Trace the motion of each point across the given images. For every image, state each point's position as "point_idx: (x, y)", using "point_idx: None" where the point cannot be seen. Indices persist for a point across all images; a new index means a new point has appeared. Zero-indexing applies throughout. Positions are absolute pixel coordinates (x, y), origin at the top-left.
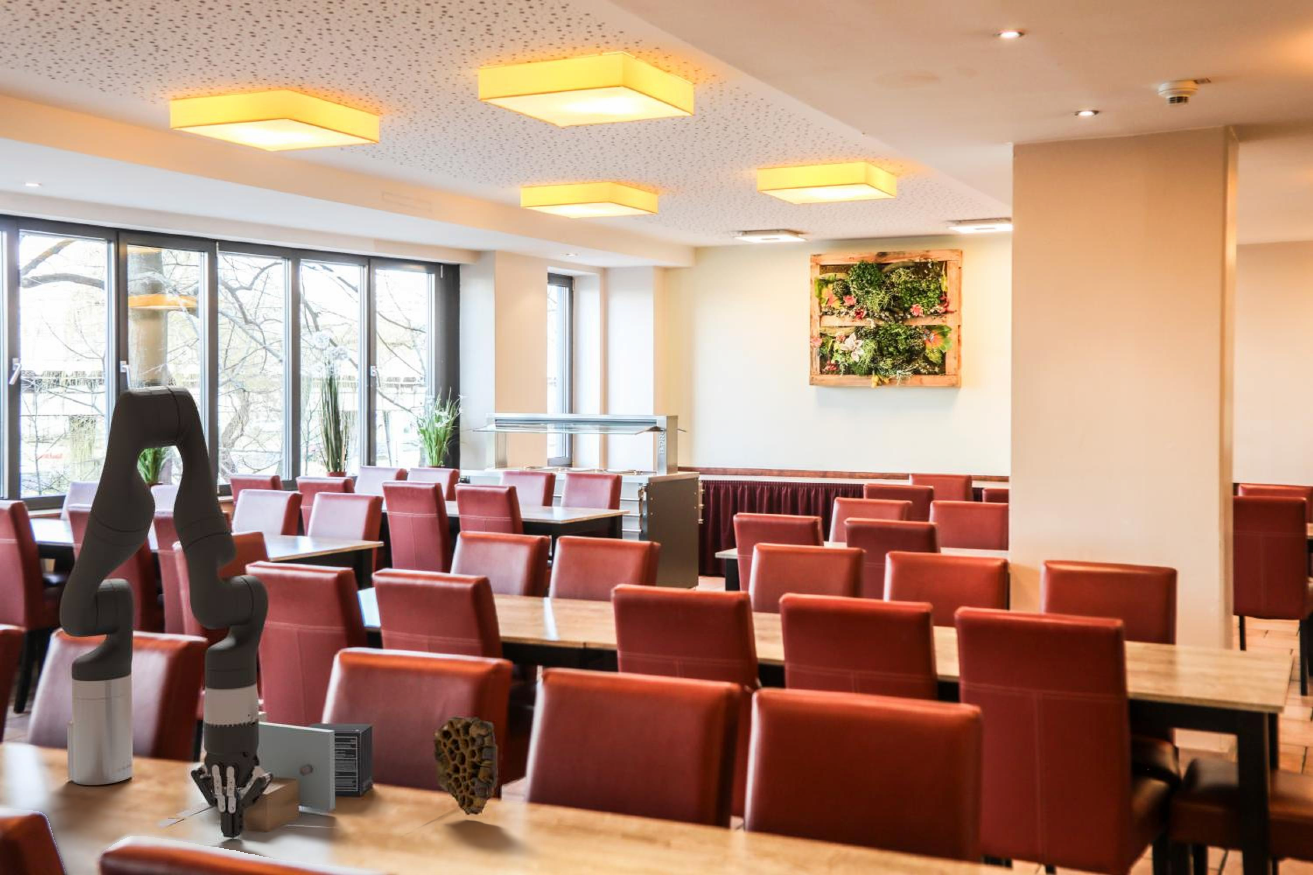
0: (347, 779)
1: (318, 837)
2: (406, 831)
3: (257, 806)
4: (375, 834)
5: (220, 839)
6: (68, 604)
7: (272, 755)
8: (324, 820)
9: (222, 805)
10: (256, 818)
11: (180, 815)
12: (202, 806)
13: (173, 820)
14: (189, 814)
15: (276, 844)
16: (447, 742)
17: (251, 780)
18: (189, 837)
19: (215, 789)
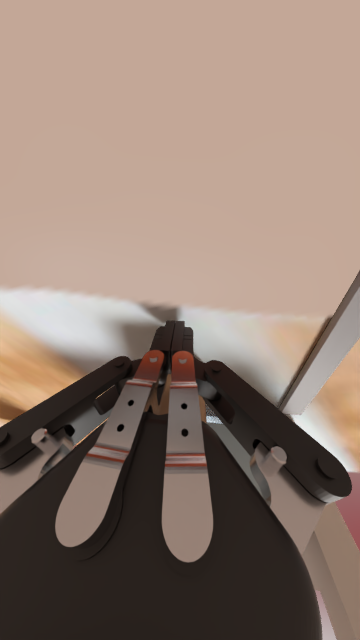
0: None
1: (87, 363)
2: (28, 391)
3: (165, 394)
4: (44, 380)
5: (204, 329)
6: None
7: None
8: None
9: (180, 362)
10: (169, 376)
11: (316, 381)
12: (295, 406)
13: (320, 365)
14: (302, 385)
15: (111, 333)
16: None
17: (246, 452)
18: (261, 324)
19: (194, 398)
